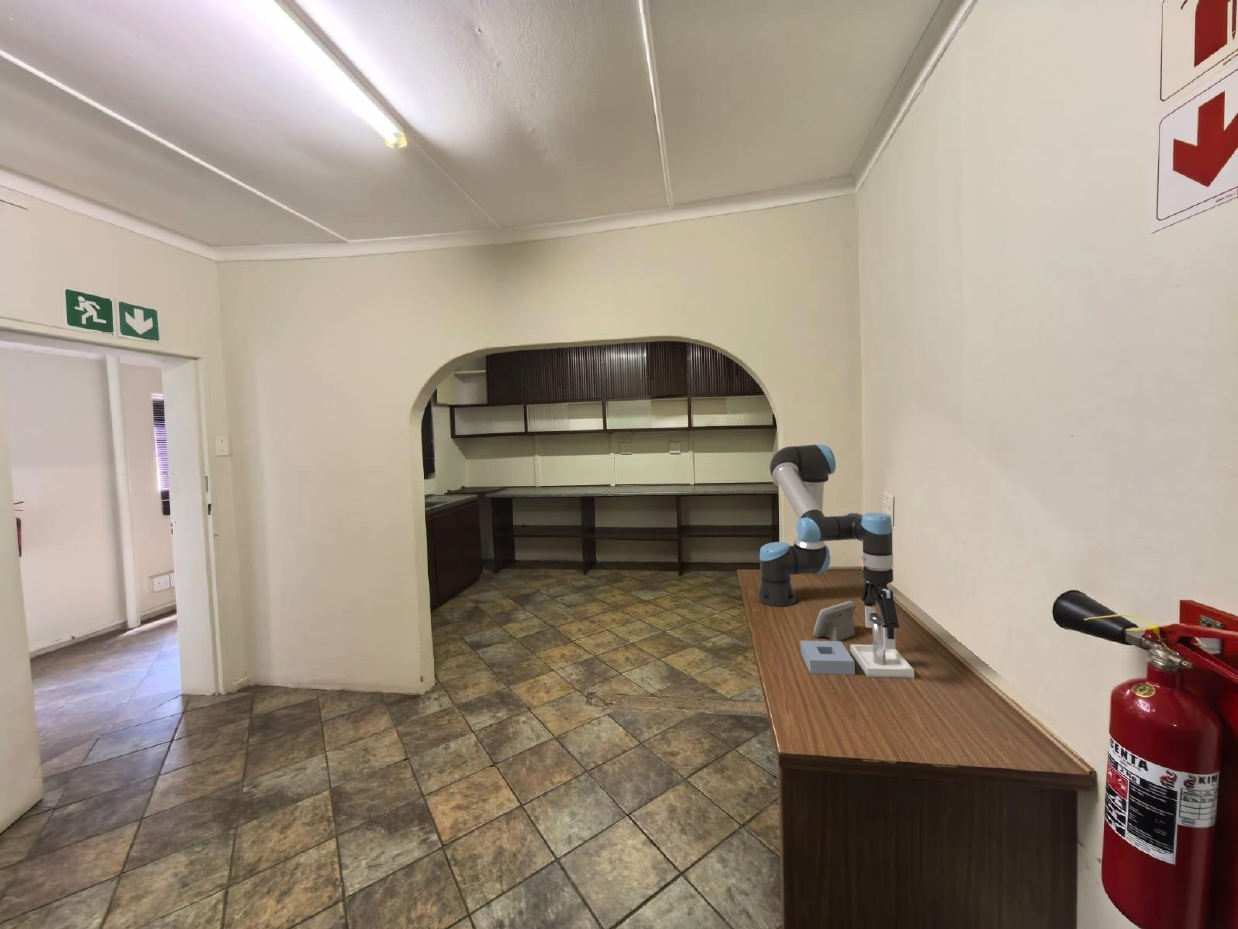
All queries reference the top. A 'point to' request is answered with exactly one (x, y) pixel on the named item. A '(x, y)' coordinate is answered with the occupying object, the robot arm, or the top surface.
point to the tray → (892, 668)
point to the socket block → (827, 657)
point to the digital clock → (836, 622)
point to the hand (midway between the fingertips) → (879, 637)
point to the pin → (878, 639)
